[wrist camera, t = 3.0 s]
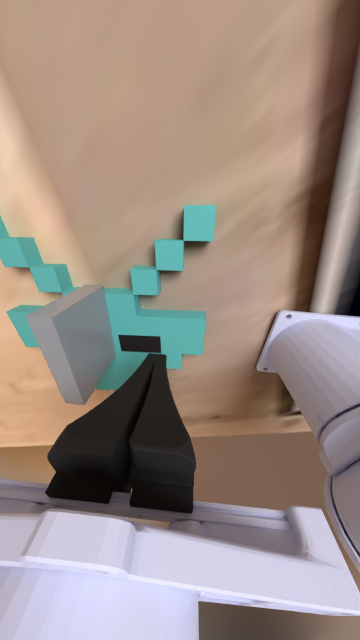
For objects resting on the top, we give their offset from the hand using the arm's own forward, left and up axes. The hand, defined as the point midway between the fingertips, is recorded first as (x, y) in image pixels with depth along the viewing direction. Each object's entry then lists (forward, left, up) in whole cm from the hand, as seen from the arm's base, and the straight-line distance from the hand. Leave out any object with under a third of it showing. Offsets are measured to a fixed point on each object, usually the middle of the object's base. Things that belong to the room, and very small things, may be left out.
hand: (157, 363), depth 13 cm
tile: (+6, 0, -4) cm, 8 cm away
